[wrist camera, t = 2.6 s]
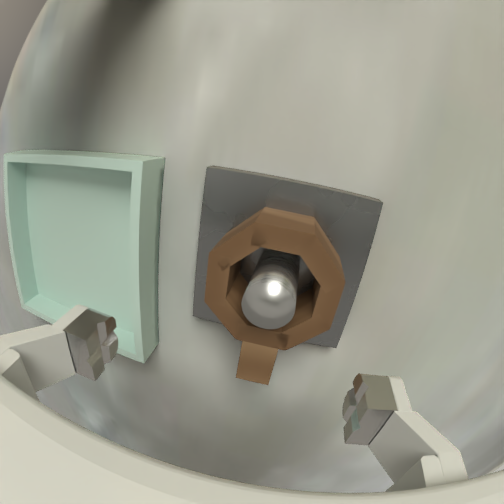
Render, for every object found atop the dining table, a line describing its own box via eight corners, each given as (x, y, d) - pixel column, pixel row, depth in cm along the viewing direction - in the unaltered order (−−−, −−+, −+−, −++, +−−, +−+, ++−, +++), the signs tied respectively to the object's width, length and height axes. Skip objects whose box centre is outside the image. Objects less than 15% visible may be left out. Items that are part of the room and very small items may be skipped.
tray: (165, 157, 16) (142, 161, 14) (158, 342, 21) (143, 363, 19) (26, 149, 17) (3, 153, 15) (39, 295, 22) (21, 307, 20)
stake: (378, 199, 15) (408, 225, 10) (335, 338, 18) (339, 398, 13) (212, 165, 16) (171, 176, 11) (198, 307, 19) (165, 358, 14)
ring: (231, 200, 15) (213, 213, 12) (348, 224, 14) (356, 244, 12) (214, 337, 18) (199, 367, 16) (307, 358, 18) (305, 392, 15)
